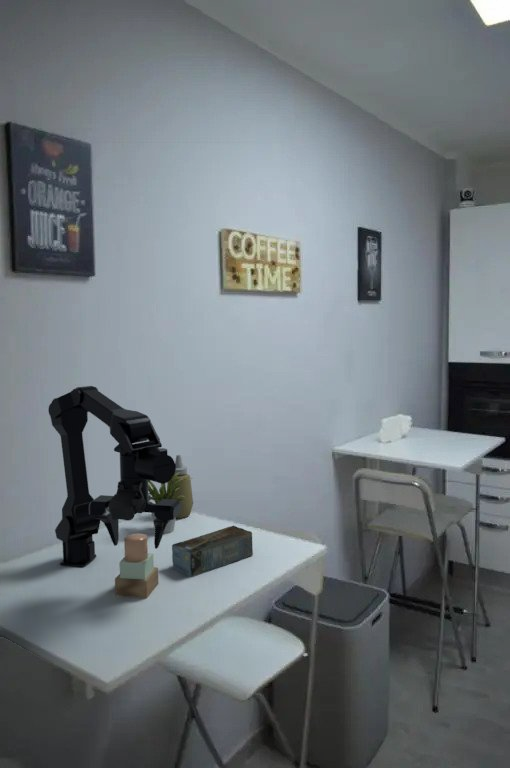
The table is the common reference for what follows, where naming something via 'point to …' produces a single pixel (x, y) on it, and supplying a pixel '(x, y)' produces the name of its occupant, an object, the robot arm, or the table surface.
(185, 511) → the squeeze bottle
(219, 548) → the beverage carton
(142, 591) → the base block
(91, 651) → the table surface
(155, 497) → the house plant
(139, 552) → the pink domed cylinder
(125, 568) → the top block
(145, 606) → the table surface
